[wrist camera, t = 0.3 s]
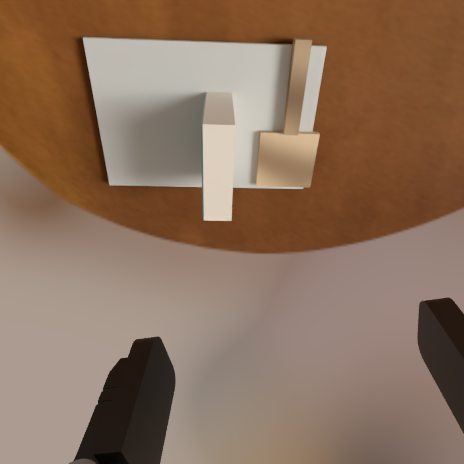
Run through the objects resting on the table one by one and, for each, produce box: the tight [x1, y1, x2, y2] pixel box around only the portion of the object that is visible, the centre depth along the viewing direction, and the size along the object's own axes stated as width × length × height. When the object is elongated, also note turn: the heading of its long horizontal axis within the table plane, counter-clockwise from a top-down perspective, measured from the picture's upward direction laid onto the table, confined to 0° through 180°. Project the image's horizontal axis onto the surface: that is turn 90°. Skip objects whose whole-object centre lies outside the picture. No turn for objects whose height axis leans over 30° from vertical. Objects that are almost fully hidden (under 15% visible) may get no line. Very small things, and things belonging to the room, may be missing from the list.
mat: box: [83, 37, 327, 189], centre depth 30 cm, size 12×18×1 cm, turn 88°
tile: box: [201, 92, 235, 221], centre depth 27 cm, size 7×2×8 cm, turn 178°
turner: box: [256, 38, 320, 187], centre depth 29 cm, size 12×5×1 cm, turn 178°
